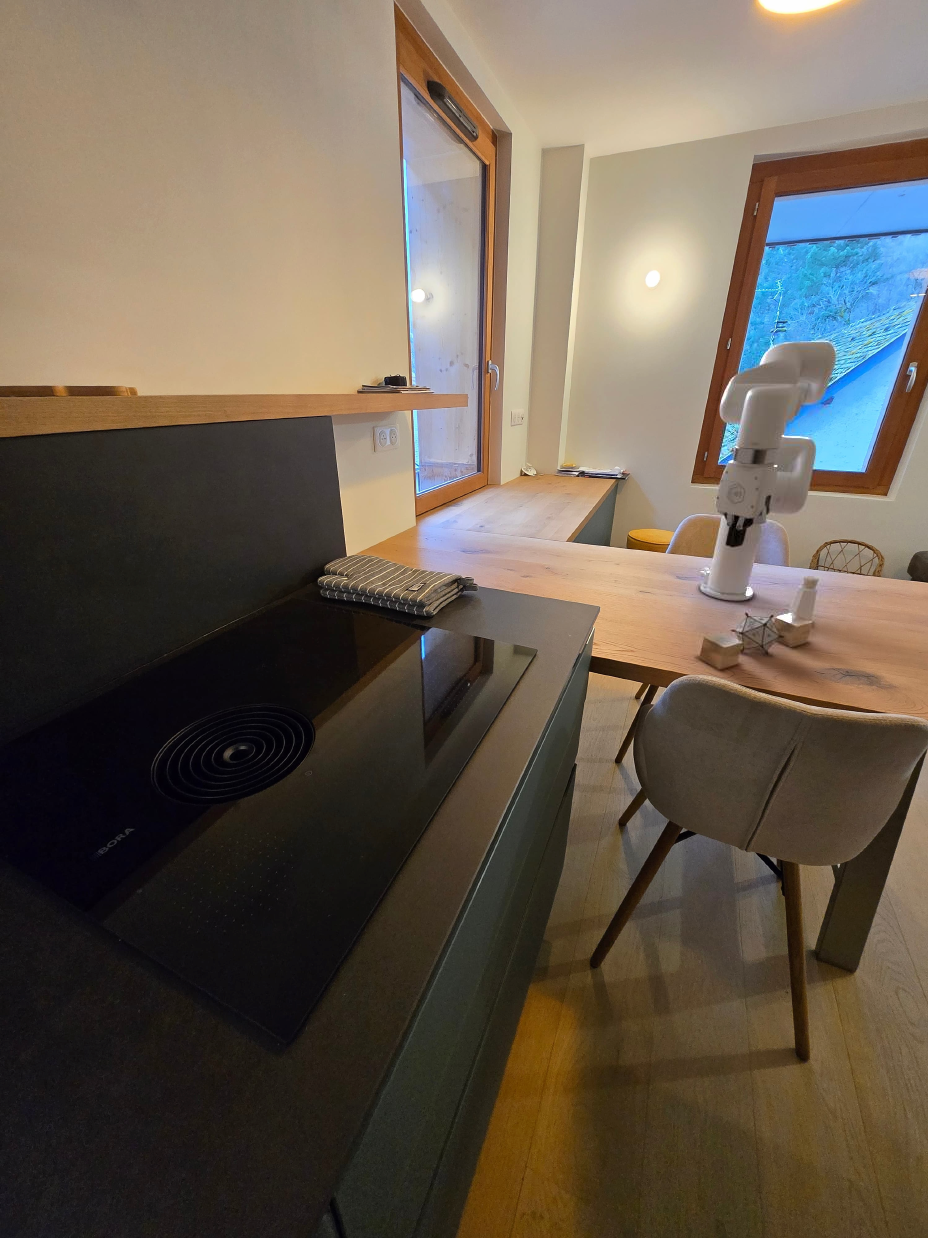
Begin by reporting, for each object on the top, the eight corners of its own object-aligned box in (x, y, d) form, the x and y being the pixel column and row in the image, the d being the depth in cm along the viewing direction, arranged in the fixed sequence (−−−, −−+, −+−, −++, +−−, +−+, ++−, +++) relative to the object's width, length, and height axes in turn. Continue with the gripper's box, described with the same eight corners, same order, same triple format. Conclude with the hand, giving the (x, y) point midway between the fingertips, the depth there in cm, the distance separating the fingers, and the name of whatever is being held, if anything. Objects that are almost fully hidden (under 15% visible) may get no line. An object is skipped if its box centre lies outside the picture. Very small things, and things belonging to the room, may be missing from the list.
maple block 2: (769, 637, 108) (775, 617, 106) (784, 633, 110) (790, 612, 108) (790, 647, 104) (797, 626, 102) (806, 642, 106) (813, 621, 104)
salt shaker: (803, 629, 112) (818, 584, 107) (779, 620, 116) (792, 576, 111) (816, 623, 114) (830, 578, 110) (791, 614, 119) (804, 571, 114)
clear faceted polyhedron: (754, 670, 103) (774, 651, 94) (717, 645, 107) (733, 625, 98) (778, 641, 105) (799, 620, 97) (741, 618, 109) (759, 595, 100)
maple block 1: (698, 658, 101) (703, 636, 99) (716, 652, 103) (721, 631, 101) (719, 669, 97) (724, 647, 95) (737, 664, 99) (743, 642, 96)
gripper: (709, 452, 101) (693, 538, 110) (776, 463, 89) (751, 559, 97) (736, 449, 104) (717, 533, 112) (804, 459, 92) (778, 553, 100)
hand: (733, 545), depth 105 cm, fingers closed
